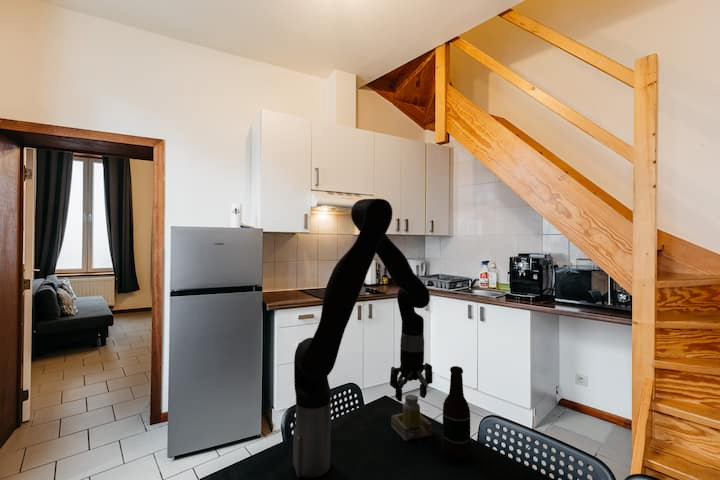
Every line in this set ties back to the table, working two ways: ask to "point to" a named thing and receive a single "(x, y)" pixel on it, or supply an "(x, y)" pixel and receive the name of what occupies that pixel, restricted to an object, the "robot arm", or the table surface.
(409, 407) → the supplement bottle
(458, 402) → the beer bottle
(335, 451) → the table surface
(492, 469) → the table surface
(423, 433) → the u holder
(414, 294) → the robot arm
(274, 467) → the table surface
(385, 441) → the table surface
